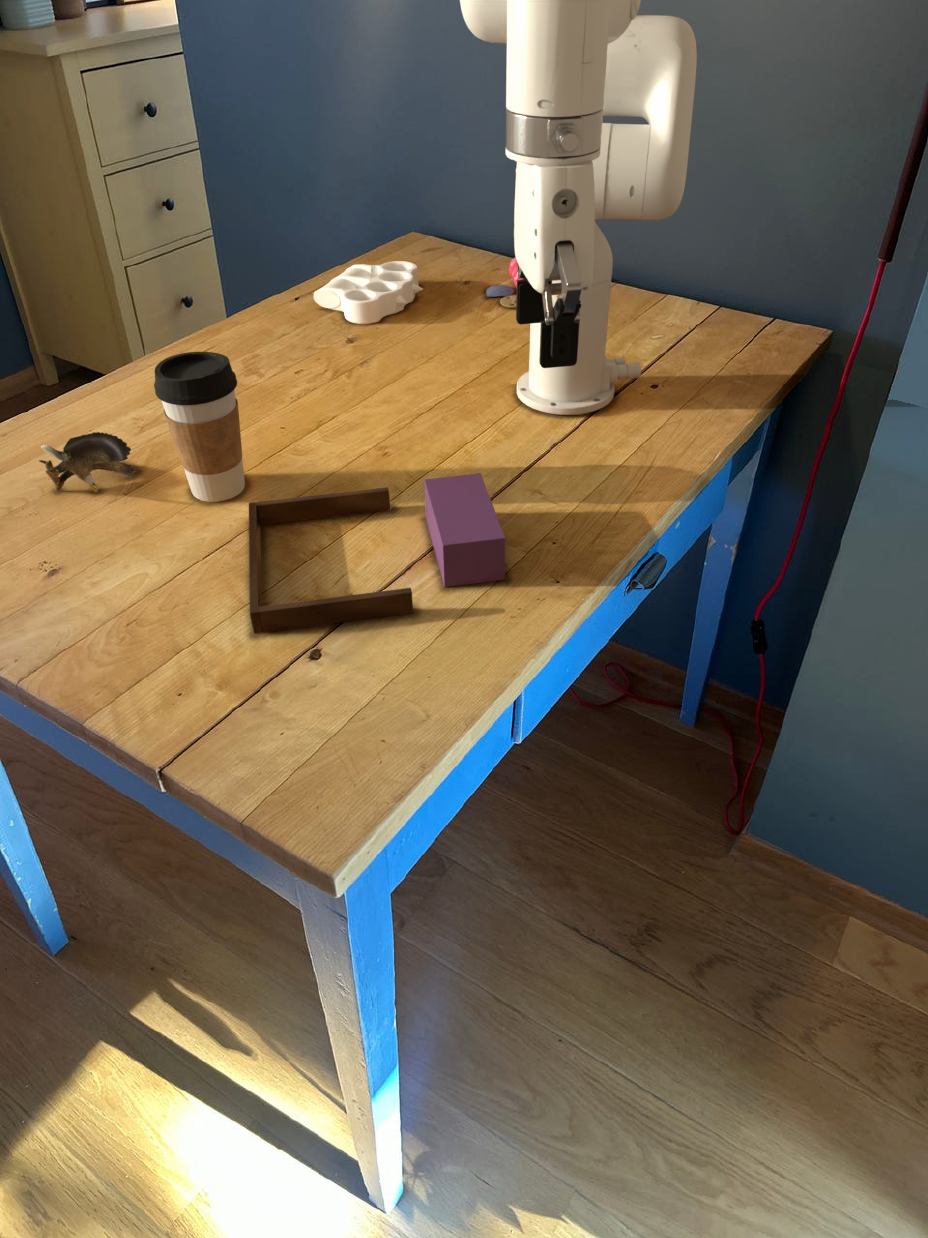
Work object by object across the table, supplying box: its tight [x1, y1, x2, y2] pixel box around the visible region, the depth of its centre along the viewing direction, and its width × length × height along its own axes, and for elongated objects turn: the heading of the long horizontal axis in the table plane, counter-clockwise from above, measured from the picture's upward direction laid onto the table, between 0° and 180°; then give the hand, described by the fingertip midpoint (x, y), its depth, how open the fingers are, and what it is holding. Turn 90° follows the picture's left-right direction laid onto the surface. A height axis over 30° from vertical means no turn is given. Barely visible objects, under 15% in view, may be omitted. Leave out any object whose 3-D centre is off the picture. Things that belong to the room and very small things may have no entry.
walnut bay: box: [248, 486, 414, 634], centre depth 93 cm, size 15×19×2 cm
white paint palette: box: [313, 260, 424, 325], centre depth 146 cm, size 3×18×15 cm
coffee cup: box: [153, 351, 246, 503], centre depth 100 cm, size 8×8×15 cm
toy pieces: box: [485, 256, 524, 309], centre depth 147 cm, size 12×11×4 cm
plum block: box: [423, 472, 506, 588], centre depth 94 cm, size 6×12×5 cm, turn 10°
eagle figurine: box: [38, 431, 137, 493], centre depth 105 cm, size 8×7×9 cm
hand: (544, 342), depth 84 cm, fingers open, 9 cm apart
